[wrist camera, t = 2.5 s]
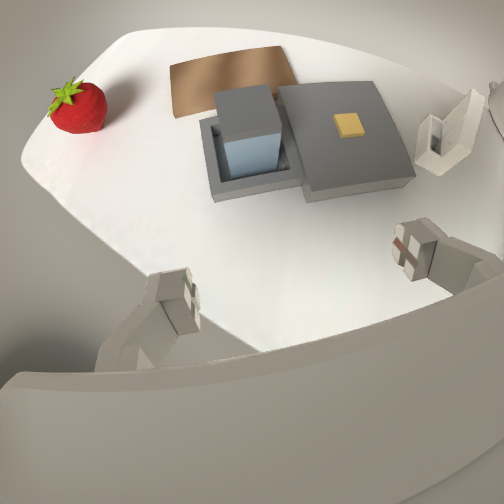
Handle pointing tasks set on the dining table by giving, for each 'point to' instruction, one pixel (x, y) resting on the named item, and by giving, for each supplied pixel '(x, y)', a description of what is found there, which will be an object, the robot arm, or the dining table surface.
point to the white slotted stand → (449, 135)
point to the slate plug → (249, 129)
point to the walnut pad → (226, 77)
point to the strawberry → (78, 108)
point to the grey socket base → (324, 145)
